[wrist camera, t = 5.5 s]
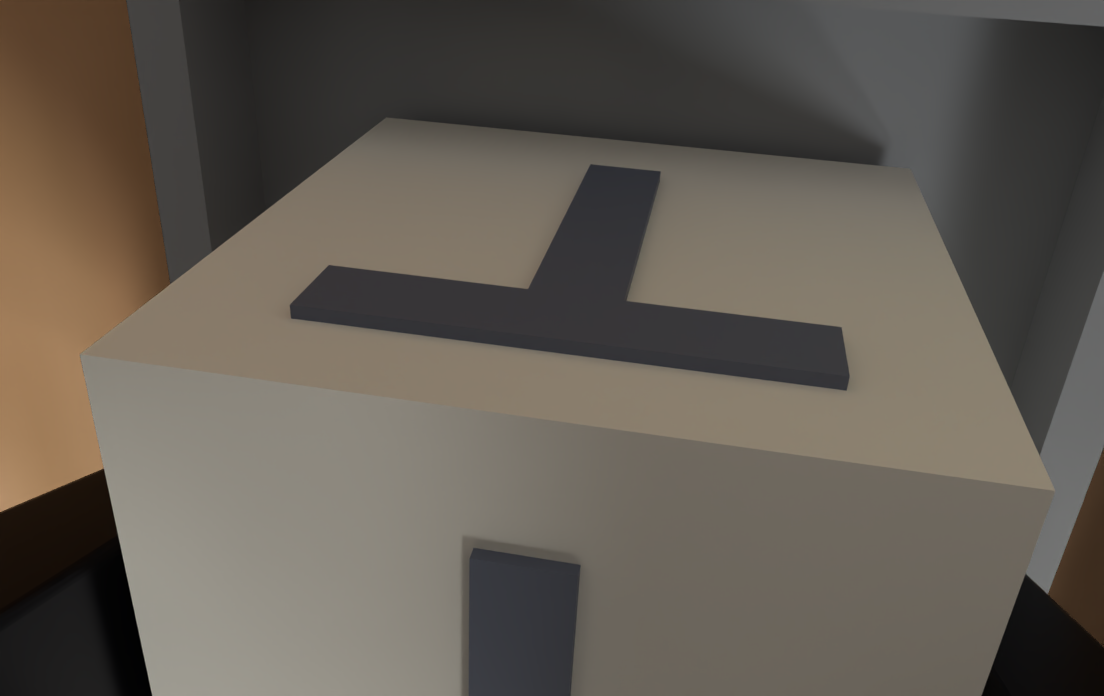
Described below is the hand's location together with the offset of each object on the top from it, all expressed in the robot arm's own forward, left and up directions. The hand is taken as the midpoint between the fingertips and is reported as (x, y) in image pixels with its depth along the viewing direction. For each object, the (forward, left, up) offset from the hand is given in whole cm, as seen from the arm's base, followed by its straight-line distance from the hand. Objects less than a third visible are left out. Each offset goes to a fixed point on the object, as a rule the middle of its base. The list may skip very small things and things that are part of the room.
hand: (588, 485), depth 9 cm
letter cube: (0, 0, -2) cm, 2 cm away
